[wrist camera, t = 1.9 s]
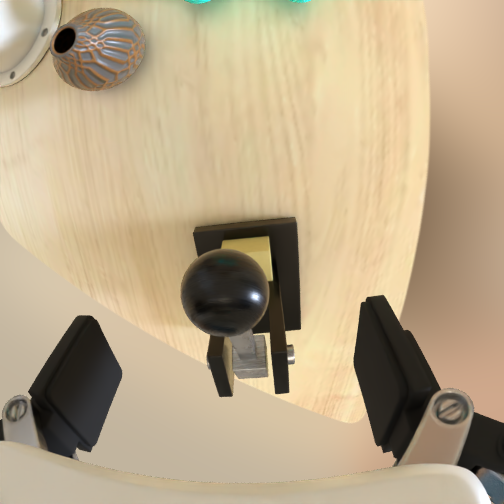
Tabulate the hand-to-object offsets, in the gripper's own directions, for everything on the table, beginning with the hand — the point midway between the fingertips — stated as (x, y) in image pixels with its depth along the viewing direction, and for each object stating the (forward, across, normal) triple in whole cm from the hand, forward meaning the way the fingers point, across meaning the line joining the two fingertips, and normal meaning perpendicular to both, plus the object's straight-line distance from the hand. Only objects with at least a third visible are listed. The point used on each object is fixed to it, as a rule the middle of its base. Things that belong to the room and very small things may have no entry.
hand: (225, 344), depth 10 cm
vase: (+18, +9, -14) cm, 25 cm away
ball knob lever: (+7, 0, +3) cm, 7 cm away
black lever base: (+18, 0, +8) cm, 20 cm away
